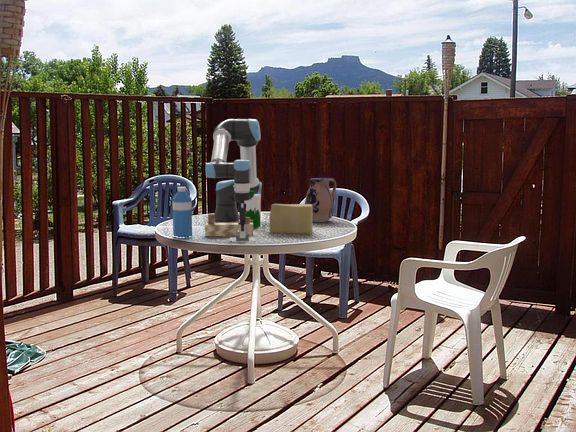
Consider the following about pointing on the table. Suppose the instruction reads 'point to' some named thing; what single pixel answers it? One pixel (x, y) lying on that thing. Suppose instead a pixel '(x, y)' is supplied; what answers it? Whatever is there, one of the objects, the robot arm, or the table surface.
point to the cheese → (291, 218)
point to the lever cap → (242, 238)
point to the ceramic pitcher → (321, 198)
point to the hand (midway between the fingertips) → (242, 235)
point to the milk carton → (254, 209)
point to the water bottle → (182, 213)
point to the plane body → (225, 227)
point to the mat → (233, 239)
